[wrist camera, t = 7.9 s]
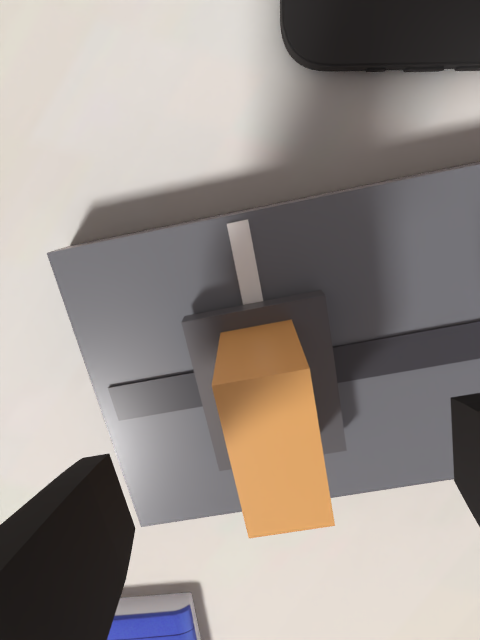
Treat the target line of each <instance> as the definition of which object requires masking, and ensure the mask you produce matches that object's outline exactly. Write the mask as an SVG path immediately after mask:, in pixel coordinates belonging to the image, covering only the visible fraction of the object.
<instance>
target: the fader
mask: <svg viewBox="0 0 480 640" xmlns="http://www.w3.org/2000/svg"><path fill="white" fill-rule="evenodd" d="M181 323H182V327H183V331H184V335H185V339H186V343H187V347H188V351H189V355H190V358H191V362H192V366H193V370H194V374H195V378H196V382H197V386H198V390H199V394H200V397H201V401H202V405H203V409H204V413H205V417H206V421H207V425H208V429H209V433H210V437H211V440H212V444H213V448H214V452H215V456H216V460H217V464H218V468H219V471H224V470H230V469H232V471H233V475H234V479H235V483H236V488H237V492H238V496H239V500H240V504H241V508H242V512H243V516H244V520H245V524H246V529H247V533H248V537H249V538H255V537H262V536H268V535H275V534H282V533H289V532H295V531H302V530H309V529H316V528H322V527H329V526H335V524H334V517H333V511H332V505H331V498H330V492H329V486H328V480H327V473H326V467H325V461H324V455H323V454H329V453H336V452H342V451H347V448H346V441H345V434H344V426H343V419H342V412H341V405H340V397H339V390H338V383H337V376H336V369H335V361H334V354H333V347H332V340H331V332H330V325H329V318H328V311H327V303H326V296H325V294H324V293H323V292H322V290H319V291H314V292H309V293H303V294H298V295H293V296H288V297H282V298H277V299H272V300H266V301H261V302H256V303H251V304H245V305H240V306H235V307H229V308H224V309H219V310H214V311H208V312H203V313H198V314H192V315H187V316H184V318H183V320H182V322H181Z"/></svg>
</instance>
